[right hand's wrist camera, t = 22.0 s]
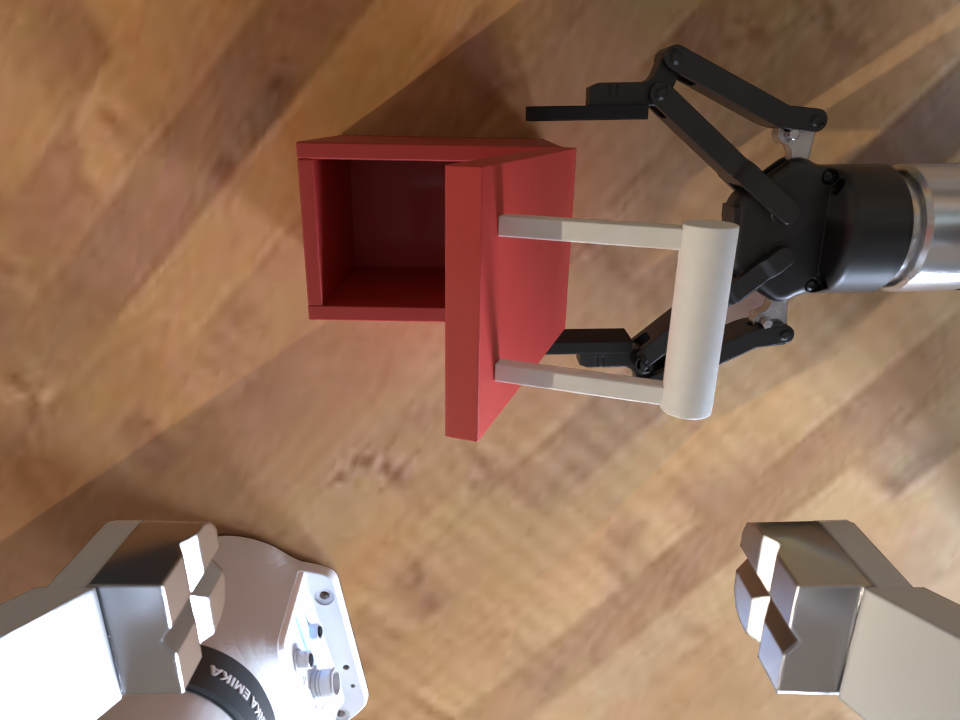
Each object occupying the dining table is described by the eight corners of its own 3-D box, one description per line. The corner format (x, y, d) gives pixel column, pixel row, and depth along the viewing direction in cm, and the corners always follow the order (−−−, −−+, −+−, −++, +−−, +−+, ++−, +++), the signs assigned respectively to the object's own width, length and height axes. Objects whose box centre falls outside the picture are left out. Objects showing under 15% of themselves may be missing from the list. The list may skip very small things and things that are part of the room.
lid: (444, 436, 24) (703, 482, 22) (444, 164, 21) (749, 178, 18) (542, 326, 37) (712, 346, 35) (552, 147, 34) (740, 153, 31)
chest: (346, 274, 48) (308, 319, 38) (338, 135, 45) (295, 141, 34) (536, 278, 48) (552, 323, 38) (543, 138, 45) (562, 146, 35)
